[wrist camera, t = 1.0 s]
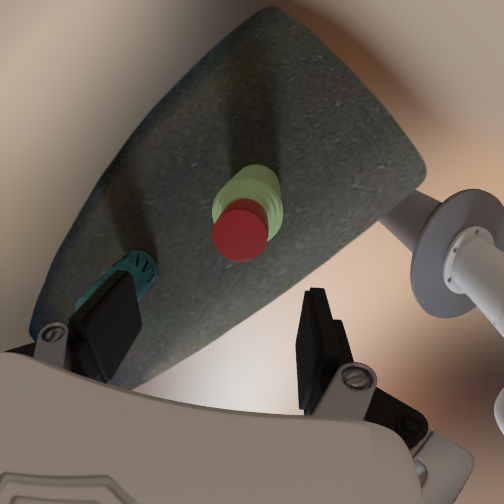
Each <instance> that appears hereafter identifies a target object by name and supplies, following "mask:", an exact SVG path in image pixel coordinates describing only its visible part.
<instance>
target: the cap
mask: <svg viewBox="0 0 504 504" xmlns="http://www.w3.org/2000/svg"><path fill="white" fill-rule="evenodd" d="M268 232H269V225H268V215H267V212H266V210H265V209H264V207H263V206H262V205H261V204H260V203H258V202H257V201H255V200H252V199H248V198H240V199H236V200H234V201H232V202H230V203H229V204H228V205H227V206H226V207H225V209H224V210H223V212H222V213H221V215H220V216H219V218H218V219H217V221H216V222H215V224H214V227H213V231H212V238H213V242H214V245H215V247H216V249H217V250H218V251H219V252H220V253H221V254H222V255H223V256H224V257H226V258H228V259H230V260H233V261H239V262H243V261H249V260H252V259H254V258H256V257H257V256H258V255H260V254H261V252H262V251H263V250H264V248H265V246H266V243H267V239H268Z"/></svg>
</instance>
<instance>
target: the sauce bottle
mask: <svg viewBox="0 0 504 504" xmlns="http://www.w3.org/2000/svg"><path fill="white" fill-rule="evenodd" d="M240 198H248V199H252V200H255V201H257V202H258V203H260V204H261V205H262V206H263V207H264V209H265V210H266V212H267V215H268V225H269V232H268V239H267V241H269V240H270V239H271V238H272V237H273V236H274V235H275V234H276V233H277V232H278V230H279V228H280V226H281V223H282V219H283V207H282V198H281V190H280V183H279V180H278V177H277V176H276V174H275V173H274V172H273V171H272V170H271V169H269V168H268V167H266V166H263V165H249V166H246V167H244V168H243V169H241V170H240V171H239V172H238V173H237V174H236V175H235V176H234V177H233V178H232V179H231V180H230V181H229V182H228V183H227V184H226V185H225V186H224V187H223V188H222V189H221V190H220V191H219V193H218V194H217V196H216V198H215V200H214V203H213V208H212V215H213V221H214V224H215V222H216V221H217V219H218V218H219V216H220V215H221V213H222V212H223V210H224V209H225V207H226V206H227V205H228V204H229V203H230V202H232V201H234V200H236V199H240Z"/></svg>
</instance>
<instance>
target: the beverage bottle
mask: <svg viewBox="0 0 504 504" xmlns="http://www.w3.org/2000/svg"><path fill="white" fill-rule="evenodd" d="M127 253H128V254H127ZM127 253H126V255H124V256H123V257H122V258H121V259H120V260H118V262H116V263H115V264H114V265H113V266H112V268H111V269H110V270H109V271H108V272H106V274H105V275H104V276H101V278H100V279H99V280H97V281H96V283H93V284H94V285H92V287H91V288H90V289H89V290H88V291H87V292H86V293H85V294H84V295H83V296H82V297H80V298H79V299H78V301H77V302H76V307H75V310H76V311H77V310H78V308H79V307H80V306H81V305H82V304H83V303H84V302H85V301H86V300H87V299H88V298H89V297H90V296H91V295H92V294H93V293H94V292H95V291H96V290H97V289H98V288H99V287H100V286H101V285H102V284H103V283H104V282H105V281H106V280H107V279H108V278H109V277H110V276H111V275H112V274H113V273H114V272H115V271H116V270H126V271H129V272H130V274H132V275H133V277H134V283H135V289H136V295H137V300H138V302H139V301H141V299H142V297H143V296H144V294H146V292H148V290H149V289H150V288H151V286H153V284H154V282H155V280H156V277H157V273H158V270H157V265H156V263H155V261H154V260H153V258H152V257H151V256H150V255H149V254H147V253H145V252H143V251H139V250H135V251H131V252H130V251H129V252H127ZM69 324H70V323H69ZM69 324H68V325H69ZM68 325H67V326H68Z"/></svg>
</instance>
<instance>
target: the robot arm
mask: <svg viewBox="0 0 504 504" xmlns="http://www.w3.org/2000/svg"><path fill="white" fill-rule="evenodd" d="M443 279H444V282H445V284H446V285H447V287H448V288H449V289H450V290H451V291H453V292H454V293H458V294H464V293H466V294H467V295H468V296H469V298H470V299H471V300H472V301H473V302H474V303H475V304H476V305H477V306H478V308H479V309H480V310H481V311H482V312H483V313H484V314H485V316H486V317H487V318H488V319H489V320H490V321H491V322H492V324H493V325H494V326H495V327H496V329H497V330H498V331H499V332H500V333H501V335H502V336H503V337H504V252H503V251H501V250H500V249H498V248H497V247H496V246H494V241H493V238H492V236H491V234H490V233H489V231H487V230H486V229H484V228H482V227H480V226H471V227H469V228H466V229H465V230H463V231H462V232H460V233H459V234H458V235H457V236H456V238H455V239H454V240H453V241H452V243H451V245H450V246H449V248H448V250H447V252H446V255H445V258H444V262H443ZM68 320H69V323H70V324H69V325H68V326H67V325H65V324H64V323H51V324H49V325H47V326H45V327H44V328H43V329H42V330H41V331H40V333H39V335H38V339H37V342H34V343H31V344H28V345H24V346H21V347H17V348H14V349H10V350H8V351H5V352H0V504H453V503H454V502H455V500H456V498H457V497H458V495H459V493H460V492H461V490H462V489H463V487H464V485H465V484H466V482H467V480H468V478H469V476H470V474H471V473H472V471H473V468H474V458H473V456H472V455H471V453H469V451H467V450H466V449H464V448H462V447H461V446H459V445H458V444H456V443H455V442H453V441H452V440H450V439H449V438H447V437H446V436H445V435H443V434H442V433H440V432H439V431H437V430H436V429H435V430H434V431H431V430H430V429H428V422H427V420H426V418H425V417H424V416H423V414H421V413H420V412H419V411H417V410H415V409H413V408H411V407H409V406H408V405H406V404H405V403H403V402H401V401H399V400H398V399H396V398H394V397H392V396H391V395H389V394H387V393H386V392H384V391H382V390H381V389H379V388H377V387H376V385H377V376H376V374H375V372H374V371H373V370H372V369H371V368H370V367H369V366H367V365H365V364H362V363H358V362H354V360H353V357H352V353H351V350H350V346H349V343H348V339H347V336H346V333H345V329H344V326H343V323H342V321H341V320H333V319H332V315H331V311H330V308H329V304H328V300H327V297H326V293H325V290H324V288H310V291H305V294H304V300H303V305H302V311H301V317H300V323H299V328H298V333H297V338H296V362H297V378H298V397H299V409H300V410H304V415H283V414H268V413H256V412H245V411H236V410H235V411H234V410H227V409H219V408H212V407H206V406H199V405H194V404H188V403H182V402H177V401H172V400H167V399H163V398H158V397H154V396H150V395H146V394H141V393H138V392H134V391H130V390H126V389H123V388H119V387H116V386H112V385H109V384H107V382H108V380H111V379H112V378H113V376H114V375H115V373H116V371H117V369H118V368H119V366H120V364H121V362H122V361H123V359H124V357H125V356H126V354H127V352H128V350H129V349H130V347H131V345H132V344H133V342H134V340H135V339H136V337H137V335H138V334H139V332H140V331H141V328H142V321H141V316H140V311H139V306H138V300H137V295H136V289H135V283H134V277H133V275H132V274H130V272H129V271H126V270H116V271H115V272H114V273H113V274H112V275H111V276H110V277H109V278H108V279H107V280H106V281H105V282H104V283H103V284H102V285H101V286H100V287H99V288H98V289H97V290H96V291H95V292H94V293H93V294H92V295H91V296H90V297H89V298H88V299H87V300H86V301H85V302H84V303H83V304H82V305H81V306H80V307H79V308H78V310H77V311H76V312H75V313H74V314H73V315H72V316H71V317H70V318H69V319H68ZM494 414H495V418H496V421H497V424H498V425H499V427H500V429H501V431H502V433H503V434H504V388H503V390H502V391H501V392H500V394H499V396H498V397H497V399H496V402H495V405H494Z"/></svg>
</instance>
